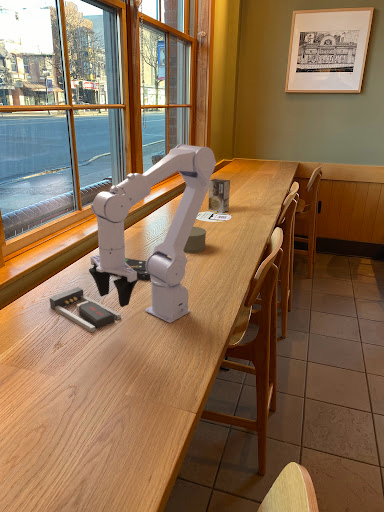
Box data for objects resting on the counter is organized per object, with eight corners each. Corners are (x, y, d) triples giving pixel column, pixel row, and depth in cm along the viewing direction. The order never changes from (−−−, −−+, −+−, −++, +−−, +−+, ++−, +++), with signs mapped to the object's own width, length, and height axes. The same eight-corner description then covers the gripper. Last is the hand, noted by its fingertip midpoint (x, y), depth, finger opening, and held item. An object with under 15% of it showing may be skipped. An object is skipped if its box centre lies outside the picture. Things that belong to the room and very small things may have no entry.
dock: (120, 318, 101) (120, 308, 100) (91, 332, 94) (90, 321, 93) (79, 296, 112) (78, 286, 110) (50, 307, 105) (49, 297, 104)
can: (202, 254, 144) (203, 237, 142) (171, 251, 146) (171, 234, 144) (208, 244, 155) (208, 227, 153) (178, 241, 157) (178, 225, 155)
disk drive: (160, 270, 132) (120, 264, 135) (160, 262, 131) (120, 256, 134) (149, 282, 122) (106, 275, 126) (149, 274, 121) (106, 268, 125)
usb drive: (97, 330, 96) (96, 320, 95) (73, 312, 104) (72, 303, 103) (115, 323, 99) (114, 313, 98) (91, 306, 107) (90, 297, 106)
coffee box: (229, 211, 203) (230, 180, 197) (223, 213, 198) (224, 182, 192) (213, 208, 207) (215, 178, 202) (207, 211, 202) (208, 180, 196)
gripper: (77, 242, 89) (82, 295, 94) (118, 258, 80) (120, 316, 85) (103, 235, 94) (105, 286, 99) (143, 250, 85) (144, 305, 90)
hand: (114, 299), depth 92 cm, fingers open, 7 cm apart
